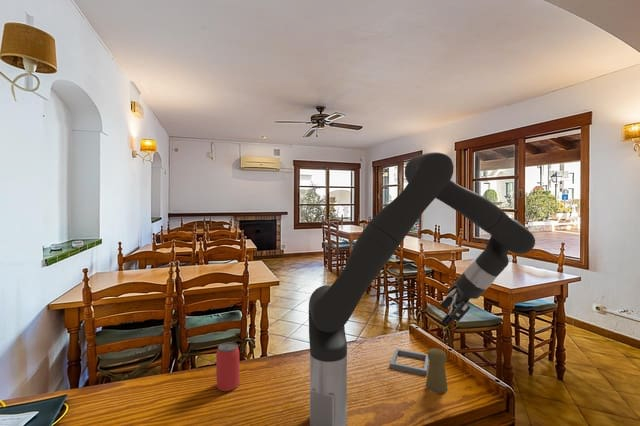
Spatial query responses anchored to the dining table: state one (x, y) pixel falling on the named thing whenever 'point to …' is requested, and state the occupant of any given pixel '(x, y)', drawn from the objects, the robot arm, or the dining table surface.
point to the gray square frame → (406, 367)
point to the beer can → (227, 366)
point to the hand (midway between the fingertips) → (443, 315)
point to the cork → (436, 371)
